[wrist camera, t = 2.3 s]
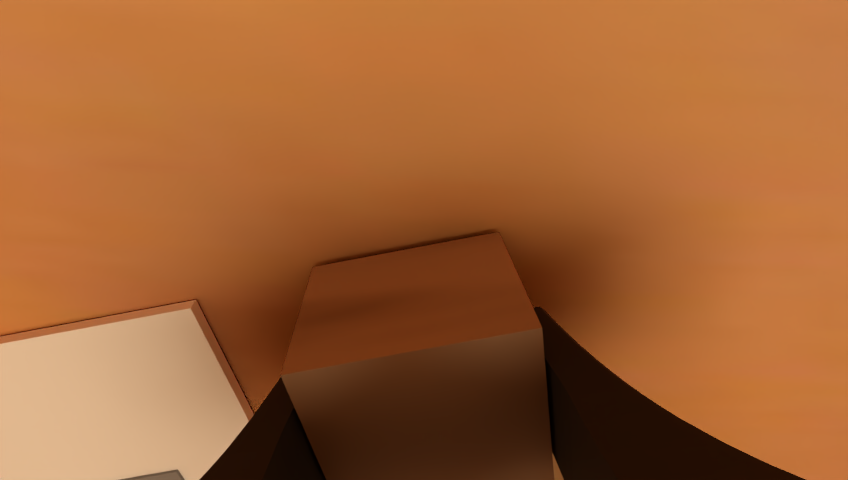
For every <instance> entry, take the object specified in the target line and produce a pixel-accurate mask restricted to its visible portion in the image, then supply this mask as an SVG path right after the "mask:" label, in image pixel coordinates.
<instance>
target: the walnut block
mask: <svg viewBox="0 0 848 480" xmlns="http://www.w3.org/2000/svg"><path fill="white" fill-rule="evenodd" d="M280 376H281V378H282V380H283V383H284V385H285V387H286V389H287V392H288V394H289V396H290V399H291V401H292V403H293V405H294V408H295V410H296V412H297V414H298V417H299V419H300V421H301V424H302V426H303V428H304V430H305V433H306V435H307V437H308V439H309V442H310V444H311V446H312V449H313V451H314V453H315V455H316V458H317V460H318V462H319V464H320V467H321V469H322V471H323V474H324V476H325V478H326V480H554V469H553V457H552V444H551V432H550V419H549V407H548V394H547V382H546V369H545V356H544V344H543V331H542V326H541V324H540V322H539V319H538V317H537V315H536V313H535V311H534V308H533V306H532V304H531V302H530V300H529V297H528V295H527V293H526V291H525V288H524V286H523V284H522V282H521V280H520V277H519V275H518V273H517V271H516V269H515V266H514V264H513V262H512V260H511V258H510V255H509V253H508V251H507V249H506V246H505V244H504V242H503V240H502V238H501V235H500V233H499V232H496V233H490V234H485V235H480V236H474V237H469V238H464V239H459V240H453V241H448V242H443V243H437V244H432V245H427V246H422V247H416V248H411V249H406V250H400V251H395V252H390V253H385V254H379V255H374V256H369V257H363V258H358V259H353V260H348V261H342V262H337V263H332V264H326V265H321V266H316V267H313V268H312V271H311V275H310V278H309V281H308V285H307V288H306V291H305V295H304V298H303V301H302V305H301V308H300V311H299V315H298V318H297V321H296V325H295V328H294V331H293V335H292V338H291V341H290V345H289V348H288V351H287V355H286V358H285V361H284V365H283V368H282V371H281V375H280Z"/></svg>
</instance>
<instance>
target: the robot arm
mask: <svg viewBox="0 0 848 480" xmlns="http://www.w3.org/2000/svg"><path fill="white" fill-rule="evenodd" d="M534 311H535V313H536V315H537V317H538V319H539V322H540V324H541V326H542V331H543V344H544V356H545V369H546V382H547V394H548V407H549V419H550V432H551V444H552V453H553V455H554V457H555V460H556V462H557V465H558V467H559V469H560V472H561V474H562V476H563V479H564V480H805V479H803V478H801V477H798V476H796V475H793V474H791V473H789V472H786V471H784V470H781V469H779V468H777V467H774V466H772V465H770V464H767V463H765V462H763V461H761V460H759V459H757V458H755V457H753V456H750V455H748V454H746V453H744V452H742V451H740V450H738V449H736V448H734V447H732V446H730V445H728V444H726V443H724V442H722V441H720V440H718V439H716V438H714V437H712V436H711V435H709V434H707V433H705V432H703V431H702V430H700V429H698V428H696V427H694V426H693V425H691V424H689V423H687V422H685V421H684V420H682V419H680V418H678V417H677V416H675V415H673V414H672V413H670V412H669V411H667V410H665V409H664V408H662V407H661V406H659V405H657V404H656V403H654V402H653V401H651V400H650V399H648V398H647V397H645V396H644V395H642V394H641V393H640V392H638V391H637V390H635V389H634V388H633V387H631V386H630V385H628V384H627V383H626V382H624V381H623V380H622V379H620V378H619V377H618V376H617V375H615V374H614V373H613V372H611V371H610V370H609V369H608V368H606V367H605V366H604V365H603V364H601V363H600V362H599V361H598V360H597V359H595V358H594V357H593V356H592V355H591V354H590V353H589V352H587V351H586V350H585V349H584V348H583V347H582V346H580V345H579V344H578V343H577V342H576V341H575V340H574V339H573V338H572V337H571V336H570V335H569V334H568V333H566V332H565V331H564V330H563V329H562V328H561V327H560V326H559V325H558V324H557V323H556V322H555V321H554V320H553V319H552V318H551V317H550V316H549V314H548V313H547V312H546V311H545V310H544V309H542V308H541V307H535V308H534ZM199 480H326V478H325V476H324V474H323V471H322V469H321V467H320V464H319V462H318V460H317V458H316V455H315V453H314V451H313V449H312V446H311V444H310V442H309V439H308V437H307V435H306V433H305V430H304V428H303V426H302V424H301V421H300V419H299V417H298V414H297V412H296V410H295V408H294V405H293V403H292V401H291V399H290V396H289V394H288V392H287V389H286V387H285V385H284V383H283V380H282V378H280V379H279V381H278V382H277V383H276V385H275V386H274V388H273V389H272V391H271V392H270V393H269V395H268V396H267V398H266V399H265V400H264V402H263V403H262V404H261V406H260V407H259V409H258V410H257V411H256V413H255V414H254V415H253V417H252V418H251V419H250V421H249V422H248V423H247V424H246V426H245V427H244V428H243V429H242V431H241V432H240V433H239V434H238V436H237V437H236V438H235V439H234V441H233V442H232V443H231V445H230V446H229V447H228V448H227V449H226V451H225V452H224V453H223V454H222V455H221V456H220V458H219V459H218V460H217V461H216V462H215V463H214V464H213V465H212V467H211V468H210V469H209V470H208V471H207V472H206V473H205V474H204V475H203V476H202V477H201V478H200V479H199Z"/></svg>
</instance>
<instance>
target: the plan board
mask: <svg viewBox="0 0 848 480" xmlns="http://www.w3.org/2000/svg"><path fill="white" fill-rule="evenodd" d="M253 415H254V414H253V412H252V410H251V408H250V406H249V404H248V402H247V400H246V398H245V396H244V394H243V392H242V390H241V388H240V386H239V384H238V382H237V380H236V378H235V376H234V374H233V372H232V370H231V368H230V366H229V364H228V362H227V360H226V358H225V356H224V354H223V352H222V350H221V348H220V346H219V344H218V342H217V340H216V338H215V336H214V334H213V332H212V330H211V328H210V326H209V324H208V322H207V320H206V318H205V316H204V314H203V312H202V310H201V309H200V307H199V305H198V303H197V301H196V300H192V301H186V302H181V303H176V304H170V305H165V306H160V307H155V308H149V309H144V310H139V311H133V312H128V313H123V314H117V315H112V316H107V317H101V318H96V319H91V320H85V321H80V322H75V323H69V324H64V325H59V326H53V327H48V328H43V329H38V330H32V331H27V332H22V333H16V334H11V335H6V336H0V480H199V479H200V478H201V477H202V476H203V475H204V474H205V473H206V472H207V471H208V470H209V469H210V468H211V467H212V465H213V464H214V463H215V462H216V461H217V460H218V459H219V458H220V456H221V455H222V454H223V453H224V452H225V451H226V449H227V448H228V447H229V446H230V445H231V443H232V442H233V441H234V439H235V438H236V437H237V436H238V434H239V433H240V432H241V431H242V429H243V428H244V427H245V426H246V424H247V423H248V422H249V421H250V419H251V418H252V417H253Z"/></svg>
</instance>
